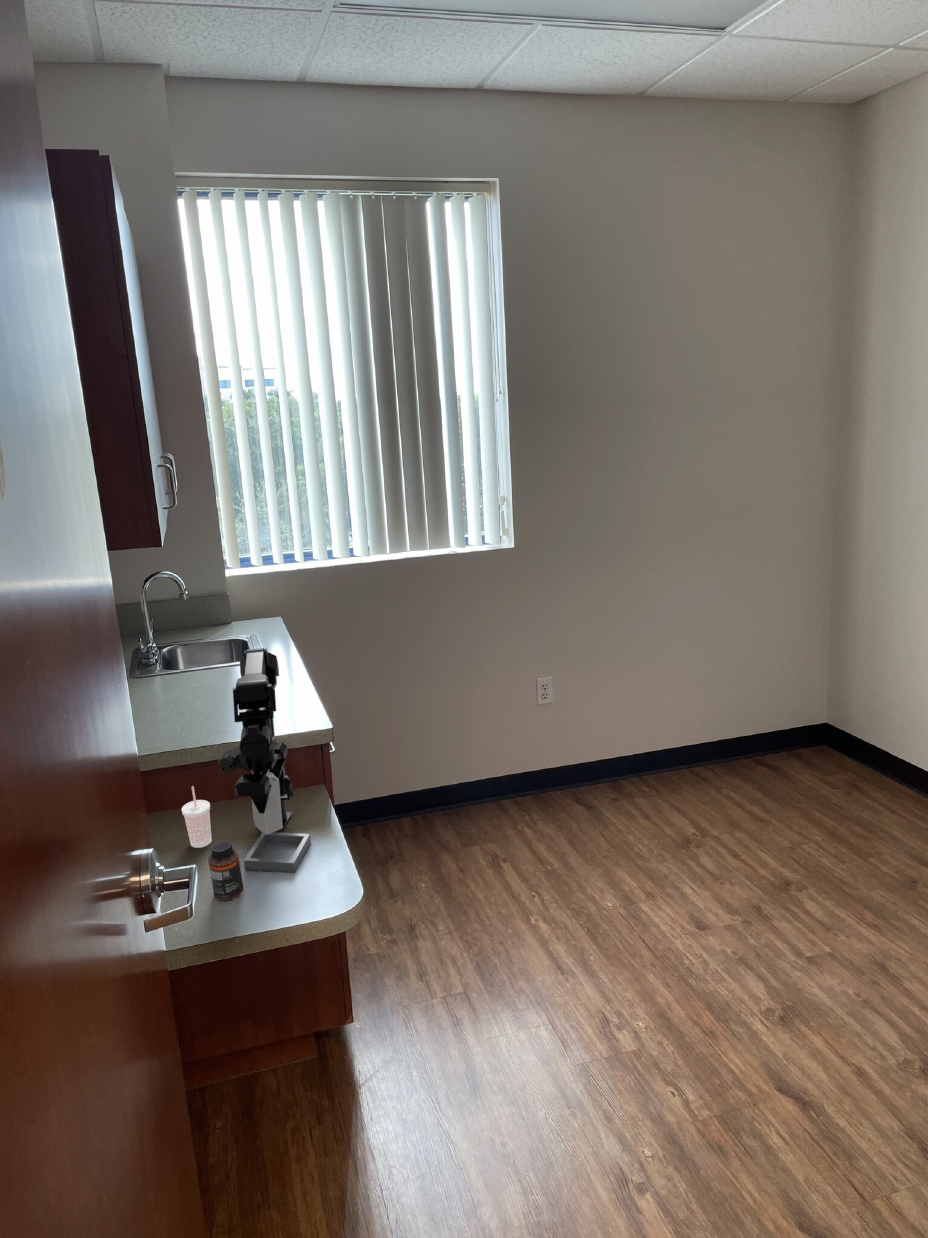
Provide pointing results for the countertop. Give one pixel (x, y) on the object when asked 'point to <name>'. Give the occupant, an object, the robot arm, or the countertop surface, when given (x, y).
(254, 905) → the countertop surface
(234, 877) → the supplement bottle
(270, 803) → the skincare box
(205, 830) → the beverage cup
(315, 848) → the countertop surface
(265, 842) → the tray
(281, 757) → the robot arm
